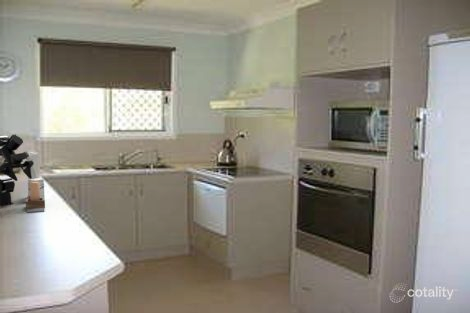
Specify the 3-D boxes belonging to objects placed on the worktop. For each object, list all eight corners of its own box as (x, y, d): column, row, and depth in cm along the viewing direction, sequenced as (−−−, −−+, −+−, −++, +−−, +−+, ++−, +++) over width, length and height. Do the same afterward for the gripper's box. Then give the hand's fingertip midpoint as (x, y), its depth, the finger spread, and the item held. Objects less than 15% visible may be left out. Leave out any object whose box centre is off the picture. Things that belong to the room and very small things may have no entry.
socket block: (26, 206, 252) (26, 198, 252) (44, 205, 255) (44, 197, 255) (26, 209, 244) (25, 201, 243) (45, 207, 247) (44, 200, 247)
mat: (27, 210, 241) (27, 209, 241) (44, 208, 244) (44, 207, 244) (26, 213, 234) (26, 211, 234) (44, 211, 237) (44, 210, 237)
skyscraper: (35, 197, 280) (33, 150, 278) (24, 197, 282) (22, 150, 280) (43, 195, 288) (41, 149, 286) (32, 195, 290) (30, 149, 287)
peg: (29, 207, 248) (27, 182, 247) (35, 206, 253) (34, 181, 251) (35, 208, 247) (34, 183, 246) (42, 206, 251) (41, 182, 250)
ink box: (36, 200, 269) (35, 180, 268) (28, 200, 270) (27, 180, 269) (45, 198, 278) (44, 178, 277) (37, 198, 279) (36, 178, 278)
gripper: (3, 147, 243) (17, 172, 240) (32, 145, 260) (46, 168, 257) (-9, 160, 247) (5, 185, 244) (21, 157, 264) (34, 180, 261)
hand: (24, 179), depth 252 cm, fingers open, 9 cm apart
